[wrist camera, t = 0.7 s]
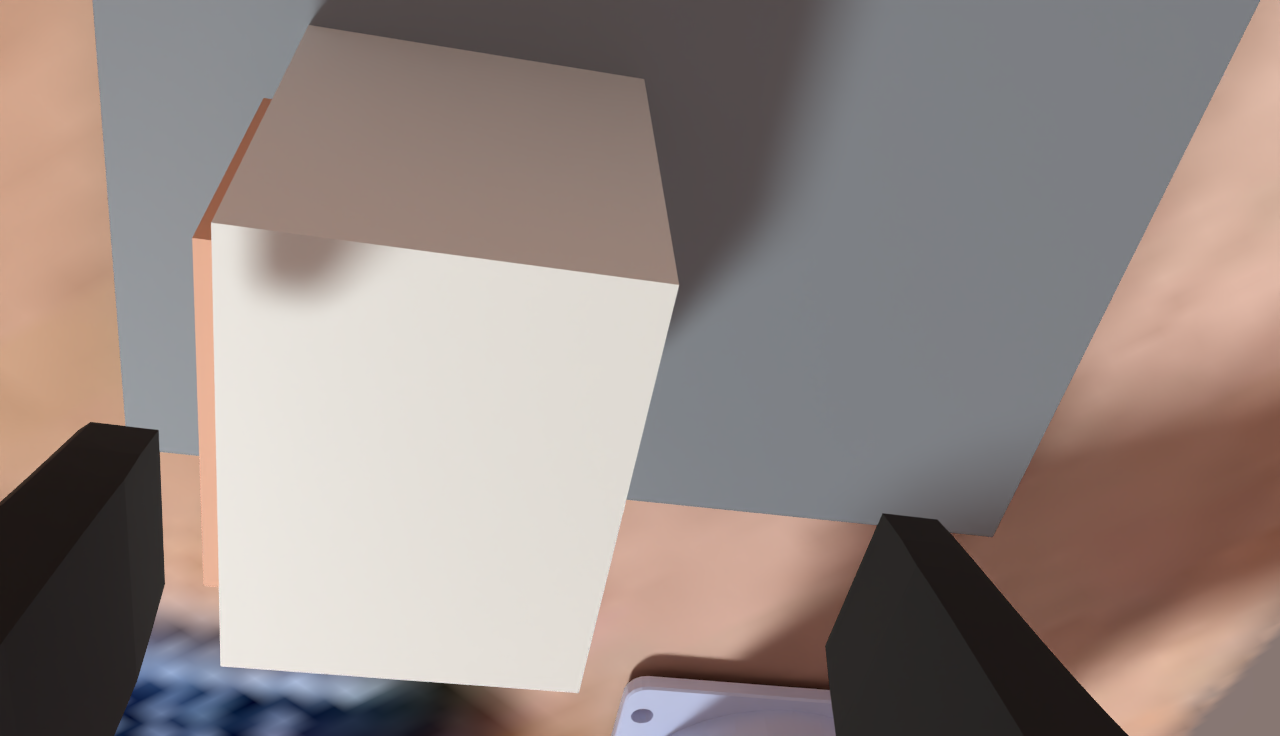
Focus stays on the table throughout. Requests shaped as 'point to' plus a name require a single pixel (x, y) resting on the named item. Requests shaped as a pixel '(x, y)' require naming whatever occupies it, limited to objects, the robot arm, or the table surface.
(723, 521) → the table surface
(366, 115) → the carton
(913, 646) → the robot arm
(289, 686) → the table surface
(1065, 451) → the table surface
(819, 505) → the grey tray
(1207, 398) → the table surface
